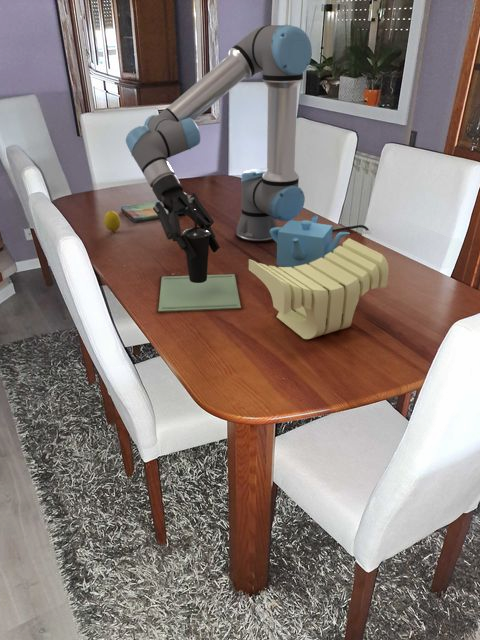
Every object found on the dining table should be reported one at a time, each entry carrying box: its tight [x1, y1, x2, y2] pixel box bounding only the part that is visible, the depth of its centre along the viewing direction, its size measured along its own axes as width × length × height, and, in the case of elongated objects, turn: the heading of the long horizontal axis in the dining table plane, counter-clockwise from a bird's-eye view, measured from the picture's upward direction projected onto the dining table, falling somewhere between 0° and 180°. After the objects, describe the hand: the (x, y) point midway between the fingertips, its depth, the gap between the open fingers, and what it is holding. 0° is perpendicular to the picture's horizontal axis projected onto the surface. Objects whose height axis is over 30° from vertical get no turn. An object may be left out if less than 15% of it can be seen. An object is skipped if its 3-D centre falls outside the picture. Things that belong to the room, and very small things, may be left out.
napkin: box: [157, 273, 242, 313], centre depth 149 cm, size 22×22×1 cm
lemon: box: [103, 210, 121, 233], centre depth 189 cm, size 6×6×8 cm
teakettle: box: [270, 214, 351, 269], centre depth 161 cm, size 19×19×15 cm
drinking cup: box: [181, 209, 210, 283], centre depth 142 cm, size 8×8×20 cm
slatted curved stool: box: [248, 237, 390, 340], centre depth 129 cm, size 30×16×18 cm, turn 119°
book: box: [120, 201, 187, 223], centre depth 210 cm, size 17×23×2 cm
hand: (205, 254), depth 141 cm, fingers closed on drinking cup, 8 cm apart
